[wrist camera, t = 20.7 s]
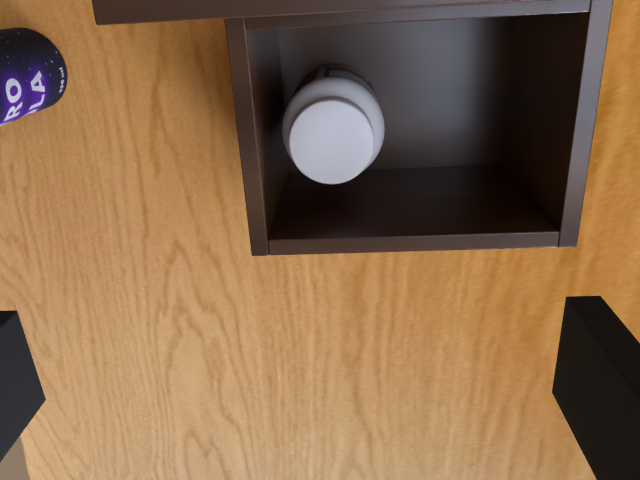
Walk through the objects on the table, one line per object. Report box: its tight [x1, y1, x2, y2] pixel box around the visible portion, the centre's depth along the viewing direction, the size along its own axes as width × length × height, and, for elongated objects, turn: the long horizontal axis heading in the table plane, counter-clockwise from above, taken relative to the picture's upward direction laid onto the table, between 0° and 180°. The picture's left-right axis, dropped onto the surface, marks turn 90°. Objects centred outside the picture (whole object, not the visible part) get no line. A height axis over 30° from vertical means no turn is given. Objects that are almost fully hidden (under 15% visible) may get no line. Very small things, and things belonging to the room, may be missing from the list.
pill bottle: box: [282, 64, 385, 184], centre depth 35 cm, size 6×6×11 cm
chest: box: [225, 0, 613, 256], centre depth 34 cm, size 13×18×14 cm
